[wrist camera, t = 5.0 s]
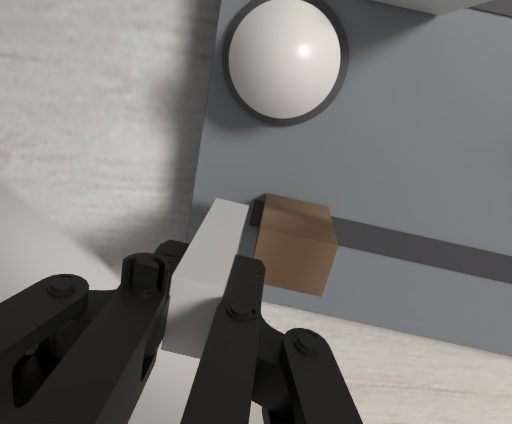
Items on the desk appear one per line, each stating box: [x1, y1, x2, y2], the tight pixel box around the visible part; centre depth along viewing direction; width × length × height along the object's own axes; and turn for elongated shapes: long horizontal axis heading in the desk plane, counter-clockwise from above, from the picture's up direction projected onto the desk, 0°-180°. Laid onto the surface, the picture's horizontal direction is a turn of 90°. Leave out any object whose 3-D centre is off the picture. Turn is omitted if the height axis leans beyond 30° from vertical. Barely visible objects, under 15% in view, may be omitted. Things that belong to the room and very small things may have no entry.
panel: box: [186, 0, 512, 356], centre depth 17 cm, size 28×18×5 cm, turn 78°
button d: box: [229, 0, 340, 119], centre depth 14 cm, size 4×4×2 cm
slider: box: [253, 193, 339, 297], centre depth 16 cm, size 3×2×4 cm
